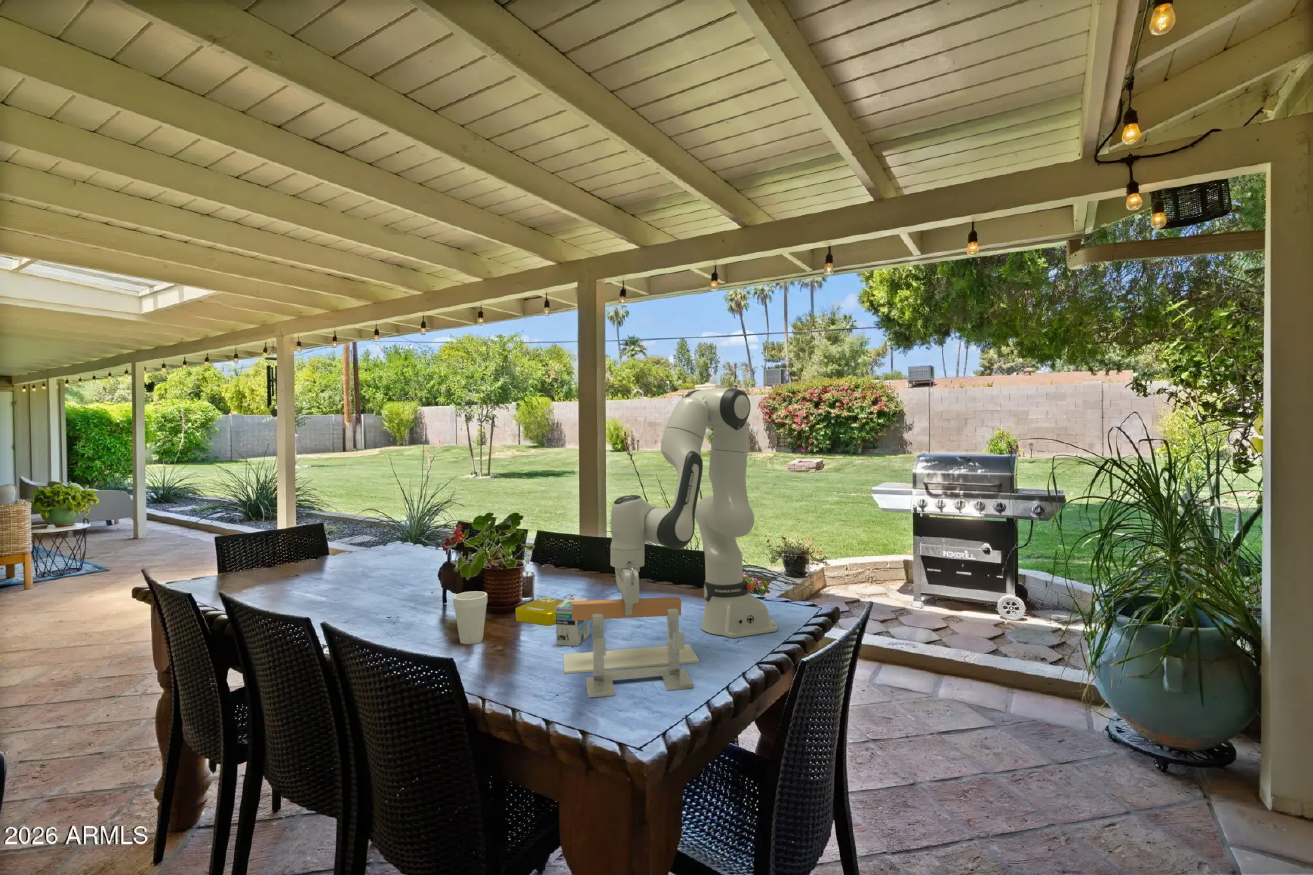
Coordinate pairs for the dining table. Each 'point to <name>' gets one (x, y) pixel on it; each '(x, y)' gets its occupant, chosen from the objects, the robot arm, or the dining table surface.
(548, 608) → the element tile
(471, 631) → the foam cup
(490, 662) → the dining table surface
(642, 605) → the rail
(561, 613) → the light bulb box
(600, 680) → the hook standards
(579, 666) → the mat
